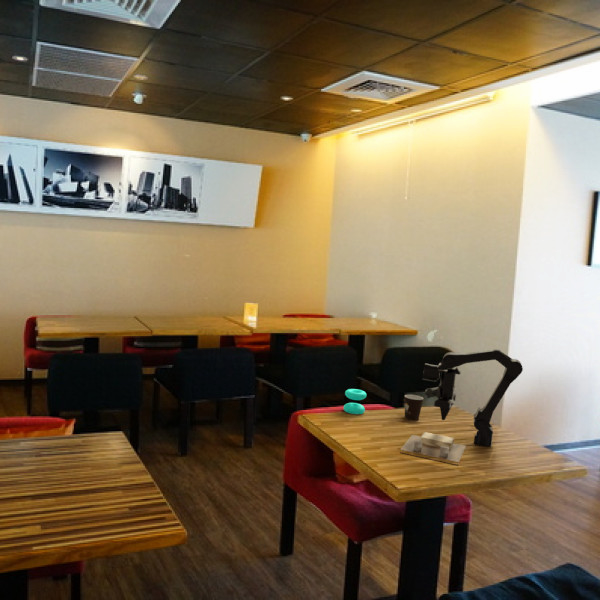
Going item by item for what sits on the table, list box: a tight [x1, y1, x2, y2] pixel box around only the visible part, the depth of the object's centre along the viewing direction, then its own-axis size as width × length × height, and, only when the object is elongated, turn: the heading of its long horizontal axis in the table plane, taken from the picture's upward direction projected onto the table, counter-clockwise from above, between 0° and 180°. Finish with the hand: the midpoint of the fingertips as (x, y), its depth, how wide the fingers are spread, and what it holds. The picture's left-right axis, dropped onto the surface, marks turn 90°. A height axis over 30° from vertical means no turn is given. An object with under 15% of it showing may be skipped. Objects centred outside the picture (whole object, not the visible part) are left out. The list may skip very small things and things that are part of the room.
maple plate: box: [420, 431, 455, 449], centre depth 250 cm, size 12×8×2 cm, turn 68°
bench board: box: [399, 434, 467, 467], centre depth 245 cm, size 22×22×5 cm
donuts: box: [343, 388, 367, 415], centre depth 291 cm, size 10×10×10 cm
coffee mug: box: [402, 394, 424, 421], centre depth 291 cm, size 12×9×10 cm
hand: (443, 419), depth 259 cm, fingers closed
